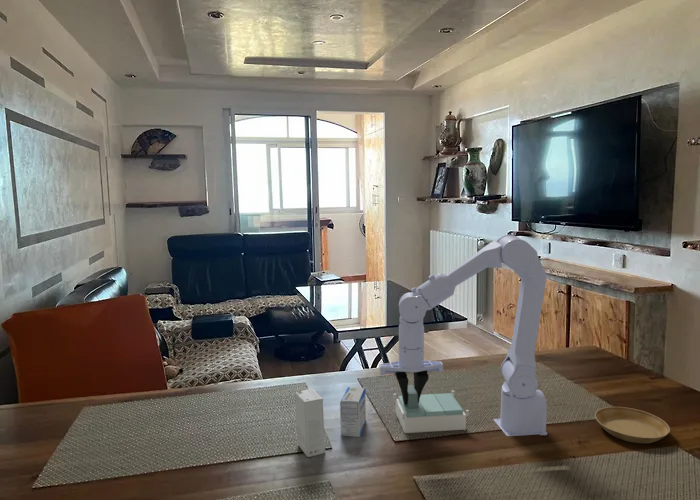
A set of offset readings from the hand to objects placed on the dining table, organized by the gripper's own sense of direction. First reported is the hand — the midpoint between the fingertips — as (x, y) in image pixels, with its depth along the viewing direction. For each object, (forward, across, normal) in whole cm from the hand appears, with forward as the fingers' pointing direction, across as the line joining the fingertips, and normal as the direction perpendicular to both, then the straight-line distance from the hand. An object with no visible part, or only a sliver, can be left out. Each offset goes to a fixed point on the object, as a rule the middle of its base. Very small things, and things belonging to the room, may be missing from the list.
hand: (410, 402), depth 116 cm
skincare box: (+6, +24, +8) cm, 25 cm away
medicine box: (+6, +14, +1) cm, 15 cm away
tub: (+5, -4, 0) cm, 7 cm away
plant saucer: (+6, -48, +9) cm, 50 cm away
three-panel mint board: (+1, -4, 0) cm, 5 cm away
